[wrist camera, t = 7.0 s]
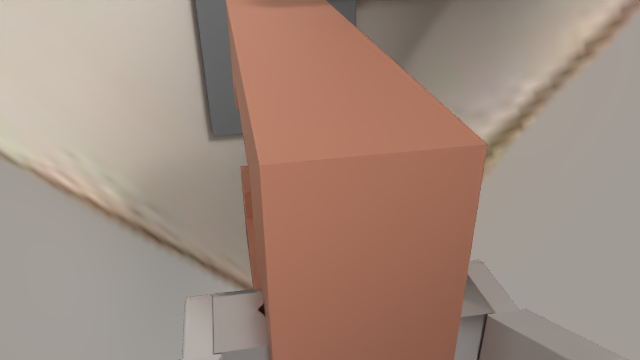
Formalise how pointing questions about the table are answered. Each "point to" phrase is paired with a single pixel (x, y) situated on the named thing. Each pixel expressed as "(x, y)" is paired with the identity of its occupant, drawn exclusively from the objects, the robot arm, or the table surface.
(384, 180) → the link
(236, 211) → the table surface
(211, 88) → the coaster
